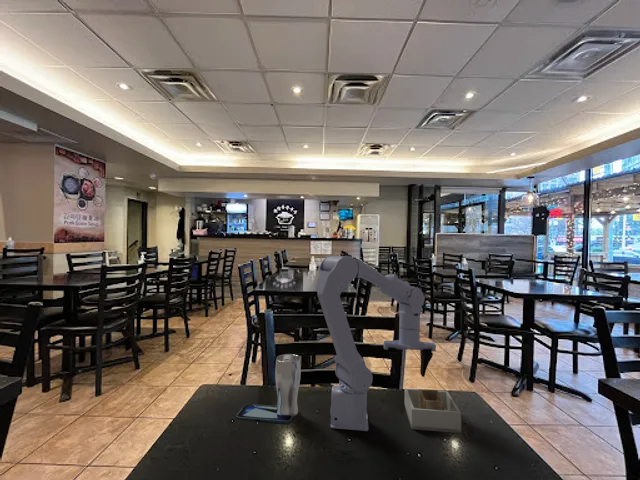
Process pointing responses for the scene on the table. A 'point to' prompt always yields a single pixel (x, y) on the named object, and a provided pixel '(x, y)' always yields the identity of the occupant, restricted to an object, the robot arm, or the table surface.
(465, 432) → the table surface
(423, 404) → the wood crate
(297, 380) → the beer glass
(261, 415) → the smartphone
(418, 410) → the storage crate
